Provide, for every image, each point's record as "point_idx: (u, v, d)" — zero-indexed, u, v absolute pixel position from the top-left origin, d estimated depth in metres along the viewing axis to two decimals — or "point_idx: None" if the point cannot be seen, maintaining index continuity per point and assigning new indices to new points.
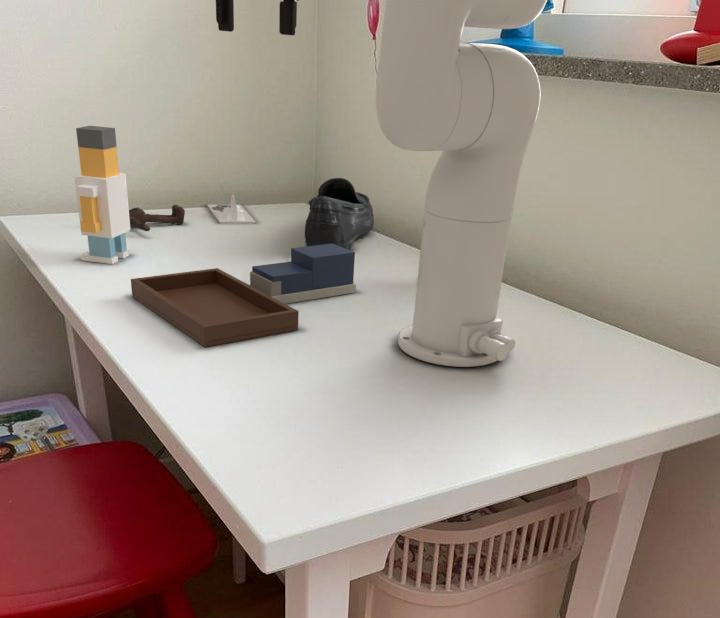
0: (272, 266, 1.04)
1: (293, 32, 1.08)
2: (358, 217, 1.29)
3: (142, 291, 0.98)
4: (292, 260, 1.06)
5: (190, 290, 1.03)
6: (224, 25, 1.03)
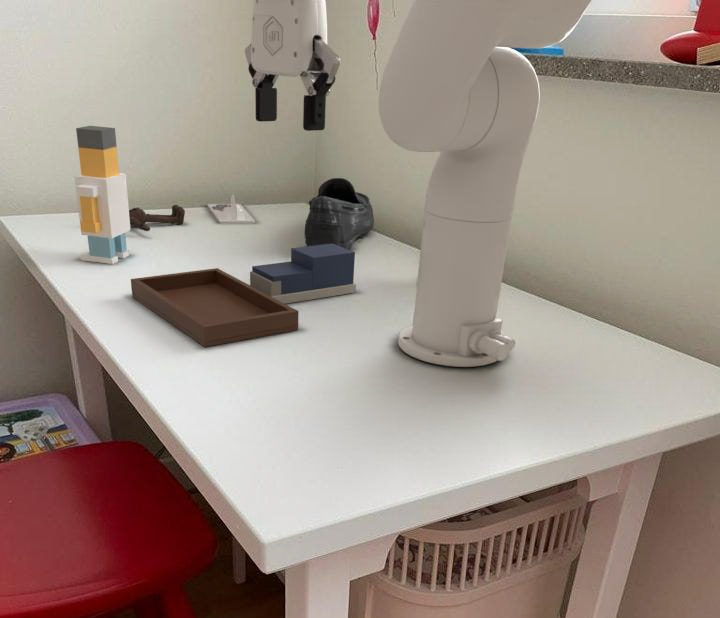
0: (272, 266, 1.04)
1: (304, 127, 0.97)
2: (358, 217, 1.29)
3: (142, 291, 0.98)
4: (292, 260, 1.06)
5: (190, 290, 1.03)
6: None
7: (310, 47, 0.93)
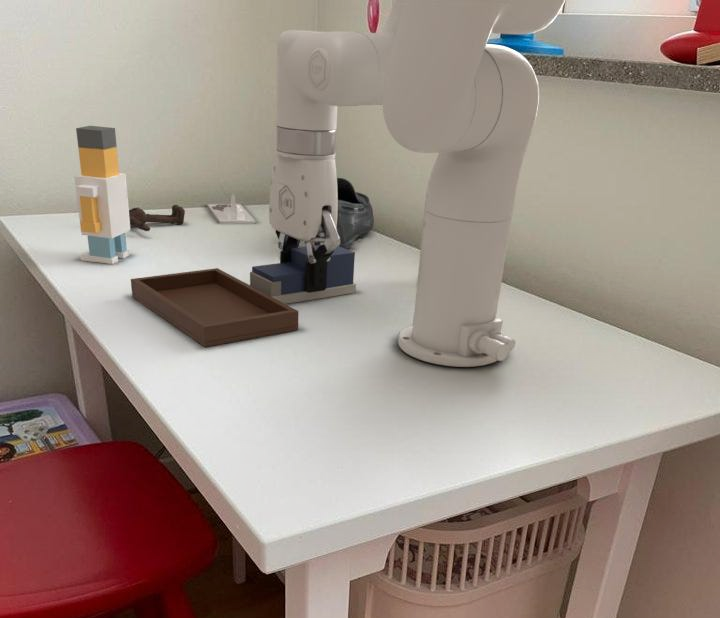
0: (272, 266, 1.04)
1: (305, 289, 1.03)
2: (358, 217, 1.29)
3: (142, 291, 0.98)
4: (292, 260, 1.06)
5: (190, 290, 1.03)
6: None
7: (319, 216, 0.97)
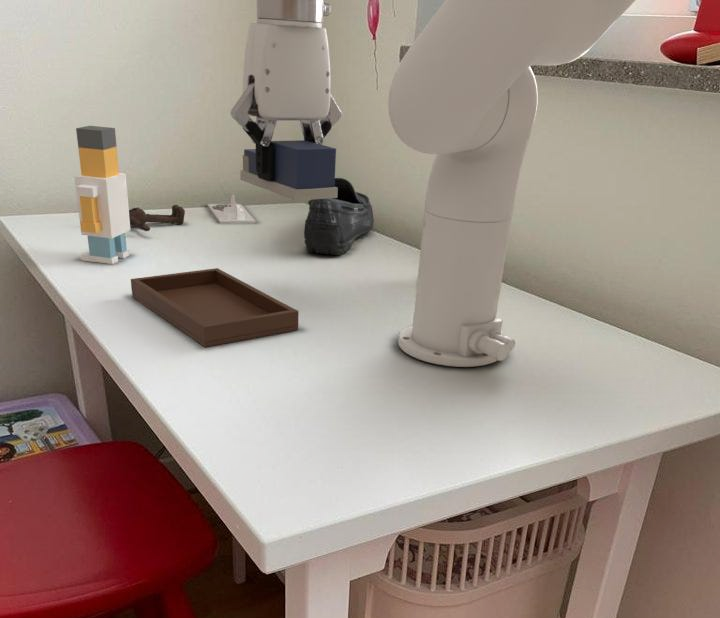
0: None
1: (259, 174, 0.97)
2: (358, 217, 1.29)
3: (142, 291, 0.98)
4: None
5: (190, 290, 1.03)
6: None
7: (246, 86, 0.90)
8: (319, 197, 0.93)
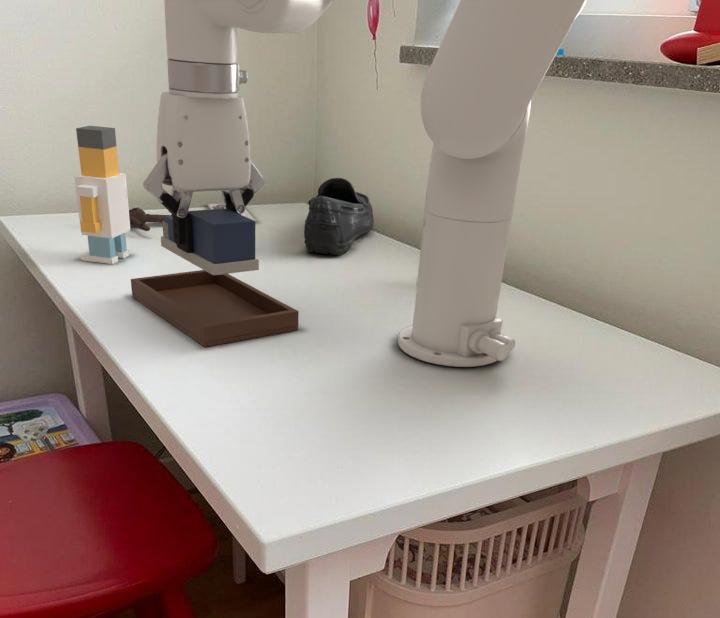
0: None
1: None
2: (357, 217, 1.29)
3: (142, 291, 0.98)
4: None
5: (190, 290, 1.03)
6: None
7: (159, 157, 0.86)
8: (239, 270, 0.90)
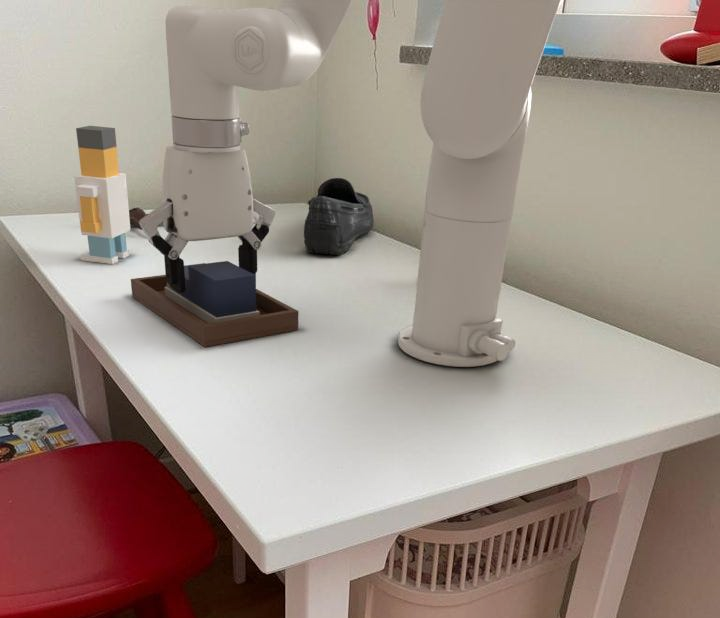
0: None
1: None
2: (357, 217, 1.29)
3: (142, 291, 0.98)
4: None
5: None
6: None
7: None
8: None
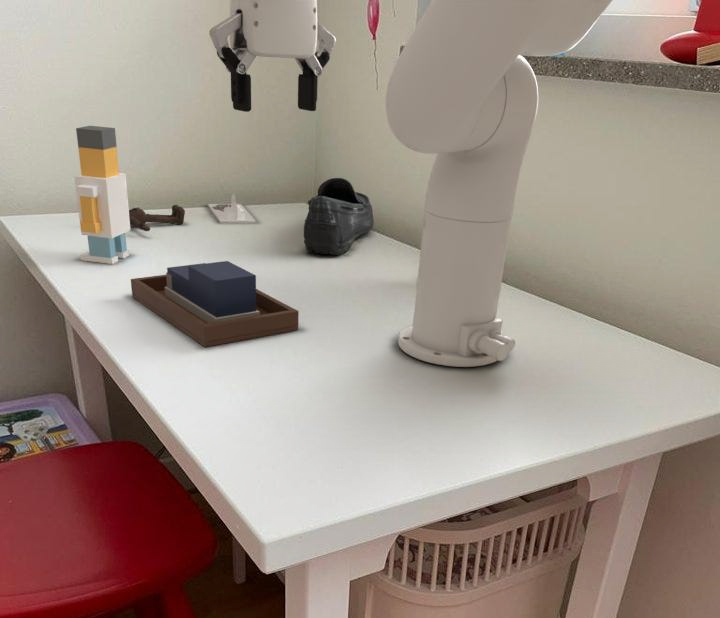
0: None
1: None
2: (357, 217, 1.29)
3: (142, 291, 0.98)
4: None
5: None
6: None
7: None
8: None
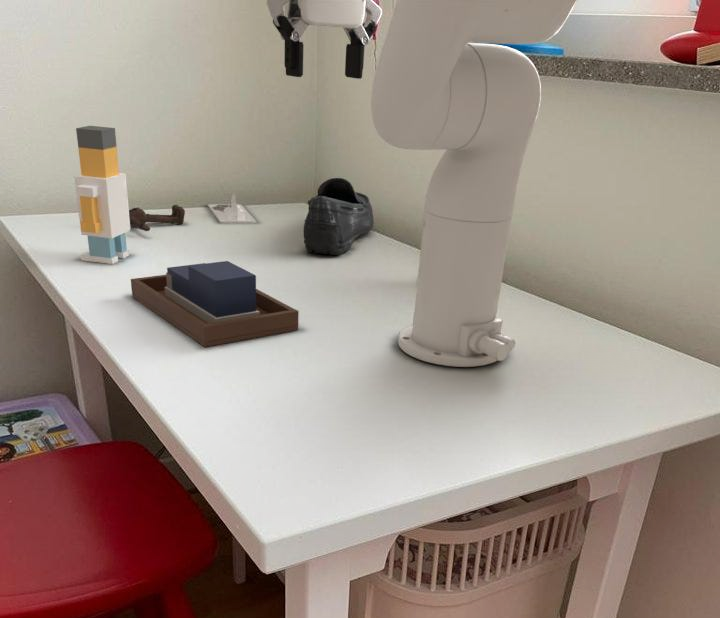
0: None
1: None
2: (357, 217, 1.29)
3: (142, 291, 0.98)
4: None
5: None
6: None
7: None
8: None
